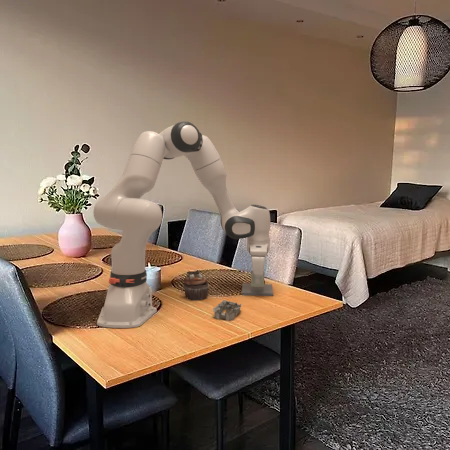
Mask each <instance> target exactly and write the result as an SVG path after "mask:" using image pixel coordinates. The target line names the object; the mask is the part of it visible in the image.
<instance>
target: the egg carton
mask: <svg viewBox="0 0 450 450" xmlns="http://www.w3.org/2000/svg"><path fill="white" fill-rule="evenodd" d="M241 308H242V304H241V303H240V304H238V302H234V301H231V300H229V301H228V300H226V299H223V300H222V301H221V302H220V303H218V304H217V305H216V306H215V307H213V308H212V311H213V313H214V314H213V315H214V316H213V317H214V318H216V319H217V320H222V319H223V320H225V321H227V322H229V321H233V320H234V319H235V317H238V314H240V313H241ZM224 311H225V312H224Z"/></svg>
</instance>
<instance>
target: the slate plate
mask: <svg viewBox="0 0 450 450" xmlns="http://www.w3.org/2000/svg"><path fill="white" fill-rule="evenodd" d="M241 284H242V285H241V286H242V287H241V296H255V297H257V296H258V297H259V296H263V297H268V296H269V297H274V288H273V284H271V283H270V284H269V283H268V284H267V283H264V287H254V286H251V283H241Z"/></svg>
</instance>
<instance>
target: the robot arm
mask: <svg viewBox="0 0 450 450" xmlns="http://www.w3.org/2000/svg"><path fill="white" fill-rule="evenodd" d="M182 156H184V157H185V158H186V159H187V160H188V161H189V162H190V165H191V167H192V169H193V171H194V172H193V173H195V175H196V177H197V178H198V180H199V182H200V183H201V185H202V186H203V187H204V188H205V190H207V191H208V192H209V193H210V195H211V197H212V198H213V201H214V203H215V205H216V207H217V210H218V211H219V214H220V227H221V228H222V230H223V232H224V233H225V234H226V235H227V236H228V237H229V238H231V239H233V240H241V239H246V251H247V253H249V255H250V258H251V268H252V271H253V275H254V276H255V283H256V284H259V283H260V276H262V275H263V271H264V270H265V262H266V256H268V253H269V252H270V246H271V239H270V230H271V213H270V210H269V209H268V208H267V207H266V206H263V205H259V204H250V205H248V207H246V208H245V209H243V210H240V211H239V209H238V208H236V207H235V205H234V202H233V200H232V199H231V196H230V194H229V191H228V188H227V184H226V181H227V173H226V168H225V164H224V163H223V160H222V158H221V156H220V153H219V152H218V150H217V149H216V147H215V145H214V143H213V142H212V140H211V139H210V138H209V137H208V136H207V135H203V134H202V133H201V132H200V130H199V129H198V128H197V126H196V125H195V124H193V122H192V123H191V122H190V121H179V122H176V123H175V124H173V125H171V126H168V127H165V129H162V131H160V132H156V131H152V130H146V131H143V132H142V133H141V134H140V135H139V136H138V137H137V139H136V141H135V143H134V145H133V147H132V149H131V150H130V154H129V157H128V159H127V163H126V166H125V168H124V171H123V173H122V175H121V176H120V179H118V181H117V183H116V184H115V186H113V188H112V189H111V190H110V191H109V192H108V193H107V194H105V196H103V197H101V198H99V199H98V200H97V201H96V202H95V204H94V207H93V212H92V213H93V218H94V220H95V222H96V223H97V224H98V225H100V226H101V227H102V226H103V227H105V228H108V229H110V230H111V229H112V230H116V231H117V230H119V231H121V233H122V235H121V239H120V241H119V242H117V243H116V244H114V245H113V247H112V248H111V252H110V255H111V256H110V257H111V258H110V259H111V271H110V275H109V278H108V284H109V285H108V286H107V287H108V289H107V292H106V297H105V300H104V305H103V306H102V308H101V309H100V310H101V311H100V313H99V316H98V319H97V321H96V325H97V326H99V327H102V328H103V327H104V328H110V329H111V328H115V329H130V328H131V329H133V328H137V327H140V326H141V325H143V324H145V322H147V321H148V320H149V319H150V318H152V317H153V316H154V315H155V314H156V313H157V312H158V310H157V307H155V306H153V295H152V287H151V286H150V285H149V284H148V282H147V276H148V274H147V270H146V249H147V243H148V241H149V239H150V237H151V235H152V234H153V233H154V232H155V231H156V230H157V229H159V227H160V226H161V223H162V221H163V211H162V209H161V206H160V205H159V204H158V203H156V202H154V201H151V200H148V199H146V198H142V197H143V196H144V195H146V193H148V192H150V191H152V190H153V189H154V187H155V185H156V182H157V179H158V176H159V173H160V171H161V168H162V167H161V166H162V164H163V160H172V159H175V158H178V157H179V158H180V157H182ZM264 272H265V271H264Z"/></svg>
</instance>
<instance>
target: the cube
mask: <svg viewBox="0 0 450 450" xmlns="http://www.w3.org/2000/svg"><path fill="white" fill-rule="evenodd" d="M250 271H251V272H250V273H251V274H250V275H251V277H250V279H251V280H250V284H251V286H254V287H264V284H265V271H263V275H262V276H260V283H259V284H256V283H255V276H254V275H253V270H250Z"/></svg>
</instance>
